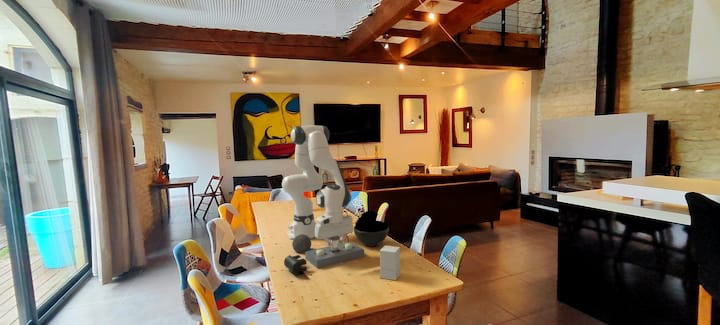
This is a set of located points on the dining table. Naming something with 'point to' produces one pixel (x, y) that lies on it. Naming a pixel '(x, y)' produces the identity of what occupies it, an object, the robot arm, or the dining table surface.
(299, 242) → the decorative ball
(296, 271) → the end cap
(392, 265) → the supplement box
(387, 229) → the coal bowl
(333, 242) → the steel plug
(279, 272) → the dining table surface
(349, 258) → the block
